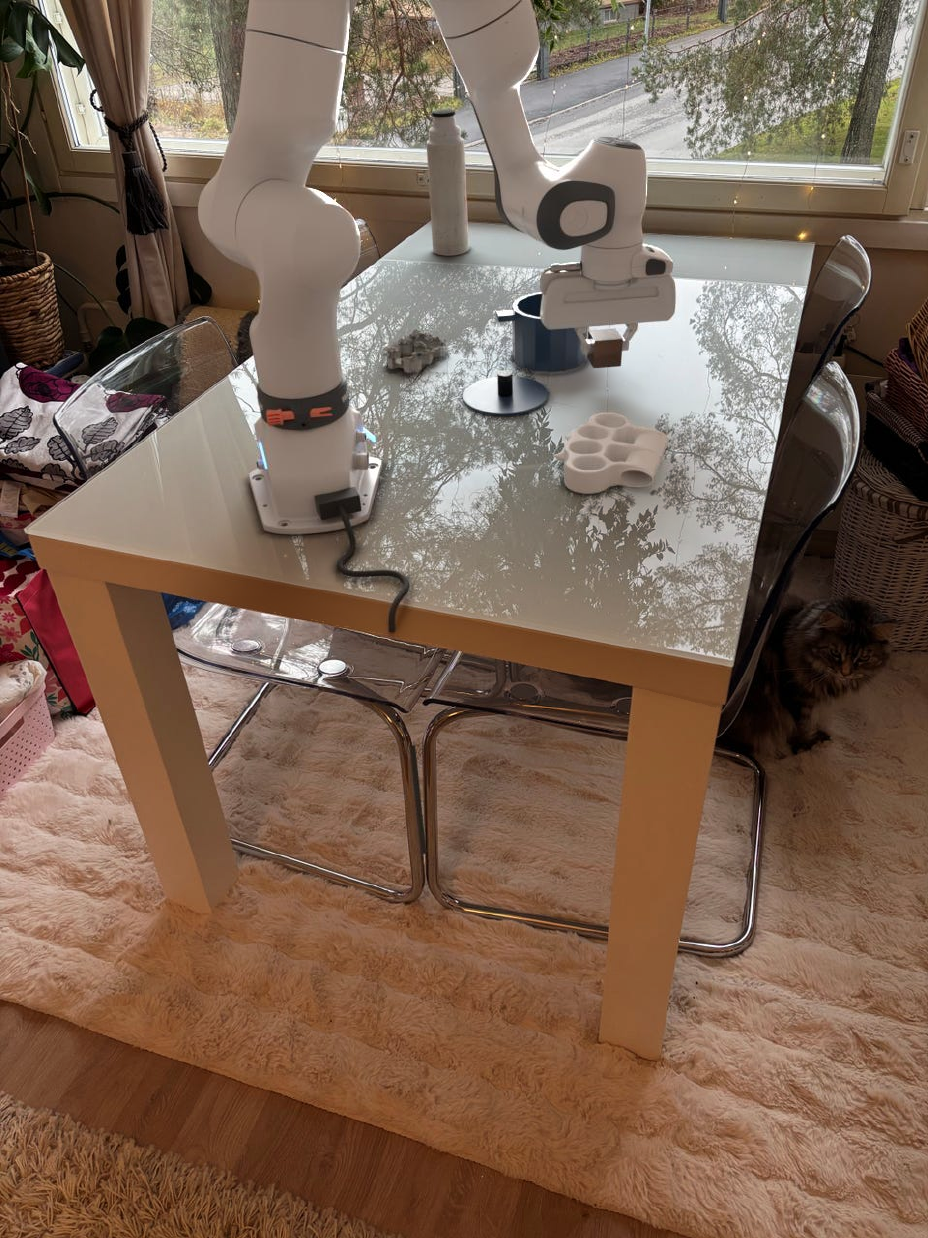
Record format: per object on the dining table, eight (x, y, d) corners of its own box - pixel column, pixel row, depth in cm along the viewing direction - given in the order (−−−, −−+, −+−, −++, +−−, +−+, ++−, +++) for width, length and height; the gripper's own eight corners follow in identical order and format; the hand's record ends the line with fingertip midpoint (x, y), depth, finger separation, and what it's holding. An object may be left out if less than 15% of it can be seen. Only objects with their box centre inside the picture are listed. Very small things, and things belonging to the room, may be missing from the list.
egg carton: (413, 378, 156) (411, 355, 154) (379, 369, 160) (376, 346, 157) (451, 355, 163) (450, 333, 160) (417, 347, 166) (415, 325, 164)
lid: (555, 415, 143) (556, 387, 140) (468, 423, 142) (467, 395, 139) (539, 378, 154) (539, 351, 151) (458, 386, 153) (456, 359, 150)
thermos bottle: (468, 243, 212) (463, 105, 194) (468, 254, 206) (462, 112, 188) (433, 245, 212) (425, 107, 195) (432, 256, 206) (423, 114, 188)
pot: (610, 369, 155) (613, 313, 149) (504, 379, 154) (503, 323, 148) (593, 340, 165) (595, 287, 159) (492, 349, 164) (491, 296, 158)
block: (621, 366, 144) (623, 338, 141) (593, 368, 144) (594, 340, 141) (614, 355, 148) (616, 328, 145) (586, 357, 147) (588, 330, 145)
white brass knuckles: (647, 503, 122) (540, 487, 127) (671, 440, 135) (573, 428, 140) (649, 481, 120) (540, 466, 124) (673, 419, 133) (574, 407, 137)
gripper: (544, 271, 133) (542, 364, 141) (684, 261, 134) (673, 353, 143) (536, 258, 138) (535, 348, 146) (671, 248, 139) (662, 338, 148)
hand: (604, 351), depth 145 cm, fingers closed on block, 4 cm apart
